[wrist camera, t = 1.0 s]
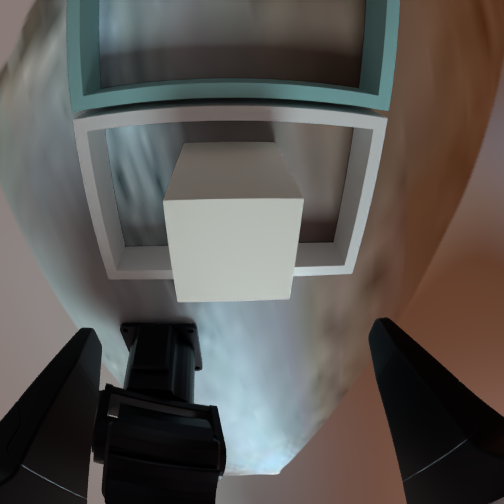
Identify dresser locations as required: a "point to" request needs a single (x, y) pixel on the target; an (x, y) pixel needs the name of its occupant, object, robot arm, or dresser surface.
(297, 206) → the cream block
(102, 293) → the dresser surface
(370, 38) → the teal bin
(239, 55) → the dresser surface
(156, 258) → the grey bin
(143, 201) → the dresser surface
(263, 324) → the dresser surface
